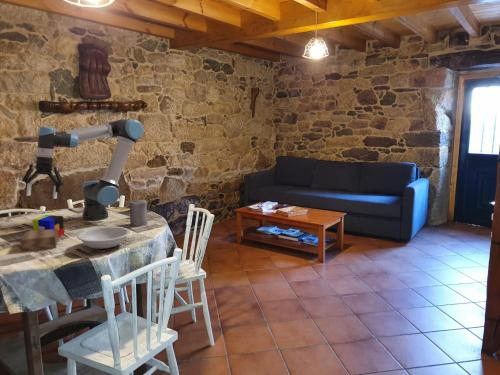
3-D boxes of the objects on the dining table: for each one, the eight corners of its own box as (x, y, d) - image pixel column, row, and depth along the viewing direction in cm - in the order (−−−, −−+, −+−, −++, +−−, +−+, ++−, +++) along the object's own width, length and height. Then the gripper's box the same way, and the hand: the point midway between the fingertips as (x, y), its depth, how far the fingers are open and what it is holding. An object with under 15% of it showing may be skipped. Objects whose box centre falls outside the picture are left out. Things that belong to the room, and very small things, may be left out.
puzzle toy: (51, 239, 195) (49, 220, 193) (34, 238, 197) (32, 219, 195) (64, 234, 205) (62, 215, 203) (47, 232, 207) (46, 214, 205)
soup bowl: (140, 240, 195) (139, 228, 193) (113, 257, 172) (112, 242, 170) (97, 237, 200) (97, 224, 199) (66, 252, 177) (65, 238, 176)
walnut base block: (58, 240, 196) (57, 228, 194) (55, 248, 183) (54, 236, 182) (26, 243, 190) (25, 231, 189) (22, 252, 178) (20, 239, 177)
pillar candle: (130, 222, 228) (128, 198, 225) (147, 221, 231) (146, 197, 228) (130, 227, 219) (129, 201, 216) (148, 225, 222) (147, 200, 219)
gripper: (16, 153, 196) (13, 194, 197) (66, 159, 197) (62, 200, 198) (24, 154, 203) (21, 193, 205) (72, 159, 205) (68, 198, 206)
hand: (41, 197), depth 202 cm, fingers open, 13 cm apart
